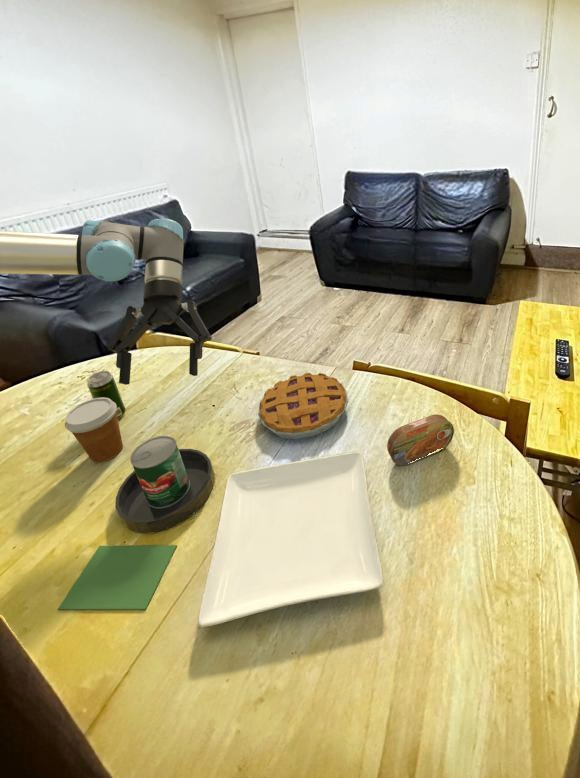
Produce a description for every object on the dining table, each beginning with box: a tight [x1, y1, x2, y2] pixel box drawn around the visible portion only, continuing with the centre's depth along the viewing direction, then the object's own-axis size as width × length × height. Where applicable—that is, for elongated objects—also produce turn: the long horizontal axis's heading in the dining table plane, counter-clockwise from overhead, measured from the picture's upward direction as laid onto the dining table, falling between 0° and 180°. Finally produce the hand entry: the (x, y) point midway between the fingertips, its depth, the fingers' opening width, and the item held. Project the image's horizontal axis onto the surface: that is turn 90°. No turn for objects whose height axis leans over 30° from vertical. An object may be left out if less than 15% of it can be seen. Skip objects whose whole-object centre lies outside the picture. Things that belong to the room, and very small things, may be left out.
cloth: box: [57, 544, 178, 611], centre depth 68 cm, size 14×10×1 cm
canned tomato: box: [129, 435, 190, 509], centre depth 80 cm, size 8×8×11 cm
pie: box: [257, 372, 349, 440], centre depth 102 cm, size 22×22×5 cm
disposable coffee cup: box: [64, 397, 124, 464], centre depth 91 cm, size 10×10×12 cm
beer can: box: [86, 370, 127, 420], centre depth 102 cm, size 5×5×12 cm
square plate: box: [197, 450, 384, 628], centre depth 73 cm, size 27×27×4 cm
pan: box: [114, 448, 216, 534], centre depth 82 cm, size 17×17×3 cm
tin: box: [386, 413, 455, 466], centre depth 87 cm, size 15×3×8 cm, turn 114°
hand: (159, 379), depth 85 cm, fingers open, 13 cm apart
